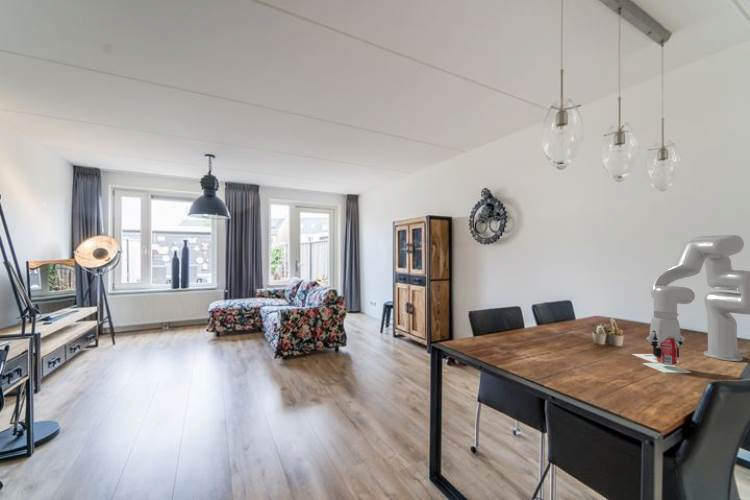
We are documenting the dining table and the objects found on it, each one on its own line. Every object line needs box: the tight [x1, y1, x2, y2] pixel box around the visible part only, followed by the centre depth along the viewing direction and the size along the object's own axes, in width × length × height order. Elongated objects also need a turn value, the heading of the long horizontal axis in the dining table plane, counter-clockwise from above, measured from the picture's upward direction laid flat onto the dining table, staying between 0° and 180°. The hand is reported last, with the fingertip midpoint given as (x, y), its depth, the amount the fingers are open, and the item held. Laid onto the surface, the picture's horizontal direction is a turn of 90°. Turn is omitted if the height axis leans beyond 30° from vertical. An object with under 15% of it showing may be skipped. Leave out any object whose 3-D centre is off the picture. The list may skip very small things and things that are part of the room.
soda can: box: [655, 337, 678, 366], centre depth 137 cm, size 7×7×12 cm
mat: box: [642, 362, 692, 374], centre depth 137 cm, size 11×11×1 cm
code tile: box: [631, 353, 680, 364], centre depth 150 cm, size 12×12×1 cm
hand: (665, 356), depth 137 cm, fingers closed on soda can, 7 cm apart
